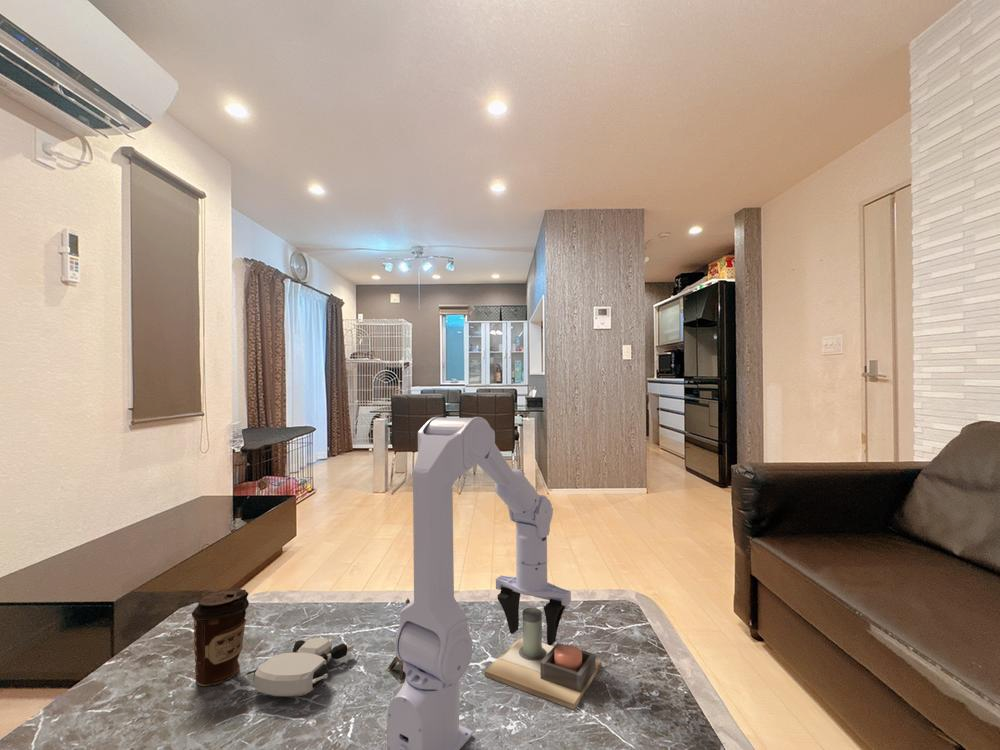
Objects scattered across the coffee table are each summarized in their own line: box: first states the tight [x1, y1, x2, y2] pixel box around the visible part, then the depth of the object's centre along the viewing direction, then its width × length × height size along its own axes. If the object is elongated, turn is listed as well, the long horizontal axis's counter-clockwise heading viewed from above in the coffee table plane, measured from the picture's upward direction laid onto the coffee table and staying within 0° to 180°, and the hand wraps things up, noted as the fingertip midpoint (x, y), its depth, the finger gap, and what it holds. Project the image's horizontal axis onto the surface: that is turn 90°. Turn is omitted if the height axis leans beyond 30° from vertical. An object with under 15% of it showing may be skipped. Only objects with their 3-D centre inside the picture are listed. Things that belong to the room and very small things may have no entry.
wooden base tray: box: [484, 636, 602, 710], centre depth 74 cm, size 13×16×3 cm
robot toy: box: [241, 637, 354, 697], centre depth 72 cm, size 12×4×15 cm
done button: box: [554, 644, 582, 672], centre depth 72 cm, size 5×5×2 cm
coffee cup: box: [191, 587, 250, 687], centre depth 73 cm, size 9×8×13 cm
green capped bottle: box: [522, 607, 543, 658], centre depth 78 cm, size 4×4×7 cm
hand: (532, 636), depth 78 cm, fingers open, 7 cm apart
